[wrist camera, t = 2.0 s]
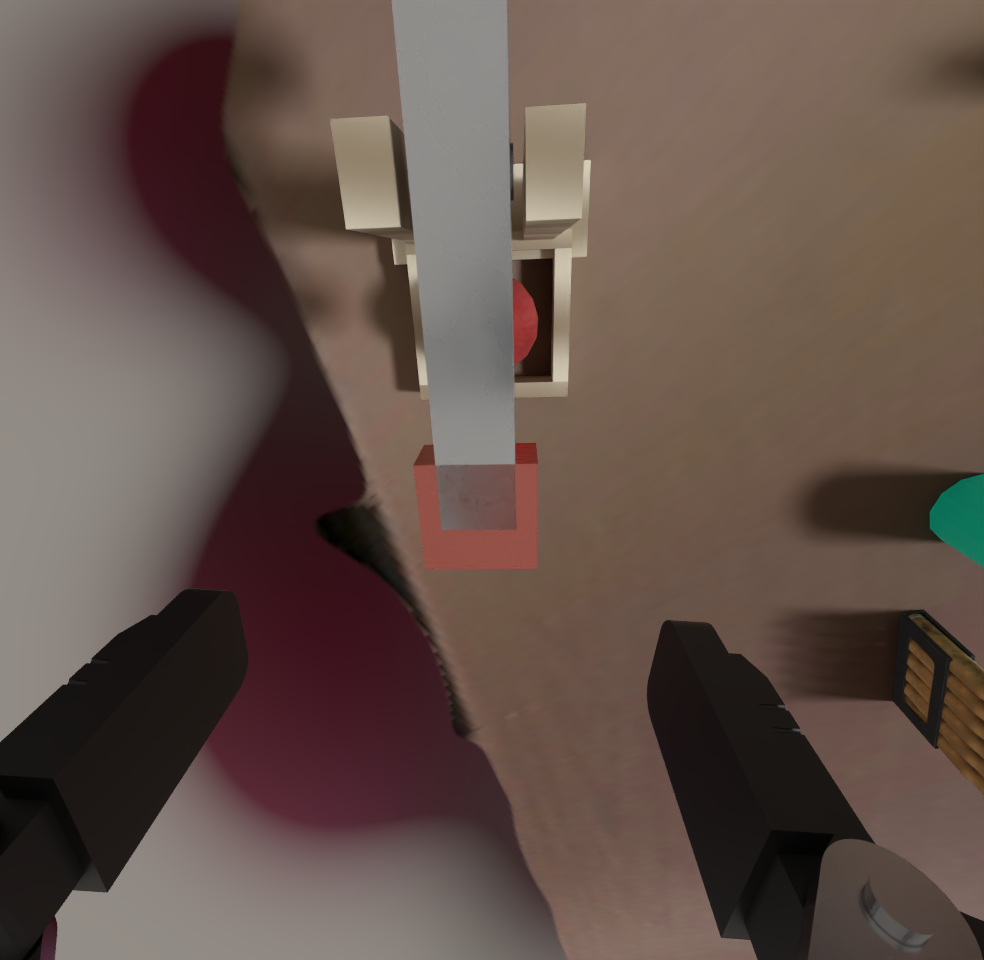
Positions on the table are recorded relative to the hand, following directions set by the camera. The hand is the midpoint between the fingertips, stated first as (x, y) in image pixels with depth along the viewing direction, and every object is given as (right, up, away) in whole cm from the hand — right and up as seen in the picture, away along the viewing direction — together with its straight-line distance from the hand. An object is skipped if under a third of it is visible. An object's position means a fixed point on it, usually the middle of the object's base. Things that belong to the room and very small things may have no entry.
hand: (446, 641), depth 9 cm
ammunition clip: (+38, -13, +33) cm, 52 cm away
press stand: (+1, +16, +22) cm, 27 cm away
